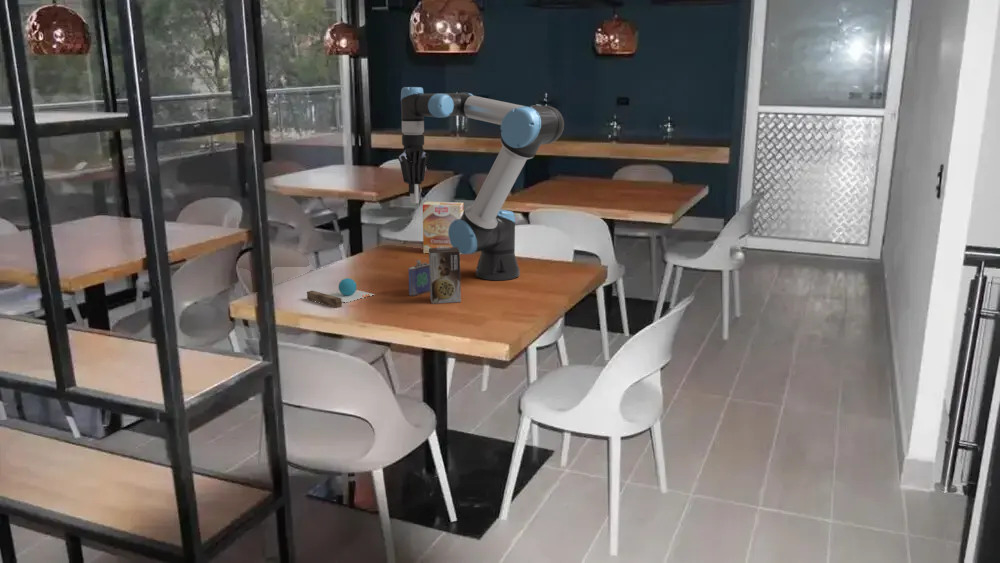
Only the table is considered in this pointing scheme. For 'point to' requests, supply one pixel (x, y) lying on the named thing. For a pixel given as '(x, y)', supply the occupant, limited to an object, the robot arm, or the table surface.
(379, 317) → the table surface
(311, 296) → the strip
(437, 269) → the cookie box
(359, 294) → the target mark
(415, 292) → the flask
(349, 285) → the ball
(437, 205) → the coffeecake box
